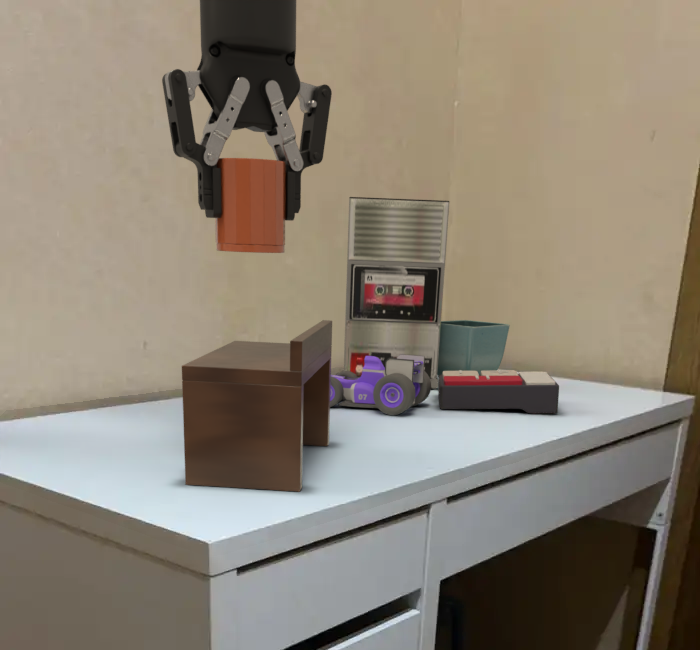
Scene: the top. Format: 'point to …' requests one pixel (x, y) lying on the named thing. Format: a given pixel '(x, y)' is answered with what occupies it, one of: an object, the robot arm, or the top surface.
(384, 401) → the toy race car
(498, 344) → the flower pot
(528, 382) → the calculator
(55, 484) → the top surface
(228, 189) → the pot
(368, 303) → the cassette tape recorder
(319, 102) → the robot arm
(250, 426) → the brown wooden bench
